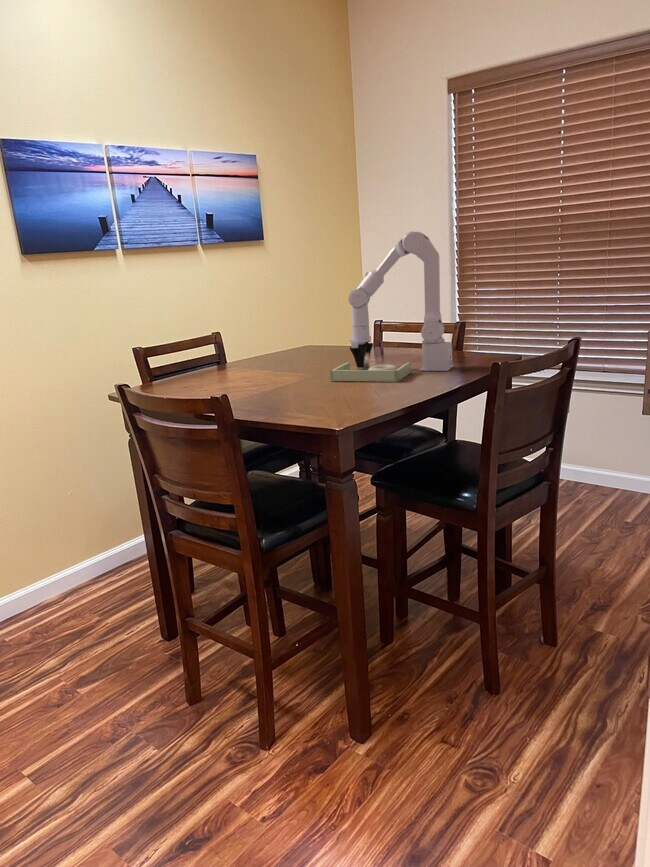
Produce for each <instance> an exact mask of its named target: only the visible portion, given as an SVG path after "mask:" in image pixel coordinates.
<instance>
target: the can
mask: <svg viewBox="0 0 650 867" xmlns="http://www.w3.org/2000/svg"><path fill="white" fill-rule="evenodd" d="M355 367H356V368H355V370H368V369H369V368H370V357H369V353H368V352H365V358H364V367H363V368H357V365H356V364H355Z"/></svg>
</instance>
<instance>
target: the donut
mask: <svg viewBox="0 0 650 867" xmlns="http://www.w3.org/2000/svg"><path fill="white" fill-rule="evenodd" d="M398 368H399V367H398V366H397V365H395V364H375V365H373V366H369V369H368V370H396V369H398Z"/></svg>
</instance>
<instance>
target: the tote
mask: <svg viewBox="0 0 650 867" xmlns="http://www.w3.org/2000/svg"><path fill="white" fill-rule="evenodd" d="M411 364H412V362H411V361H407V362H406V363H404V364H402V365H401V366H400V367H398V369H396V370H357V369H351V364H350V361H349V362H348V361H347V362H344V363H342V364H340V365H338V366H337V367H335V368H333V369H331V370H329V371H330V372H329V374H330V382H331V381H359V382H358V383H366V382H365V381H379V382H378V383H399V382H401V381H402V380H403V379H405V378H406V377H407V376H409V375H410V374H411V373H412V365H411ZM408 374H409V375H408ZM404 377H405V378H404ZM400 380H401V381H400ZM360 381H362V382H360ZM363 381H364V382H363Z"/></svg>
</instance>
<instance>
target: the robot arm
mask: <svg viewBox="0 0 650 867" xmlns="http://www.w3.org/2000/svg"><path fill="white" fill-rule="evenodd" d="M410 254H412V255H414V256H416V257H417V258H418V259H419V260H421V261H422V262H423V272H424V274H423V276H424V279H423V281H424V287H423V288H424V317H423V326H422V328H421V330H420V335H421V337H422V341H421V345H422V346H421V348H422V349H421V350H422V351H421V352H422V353H421V354H422V366H421V367H420V368H419V369H418V370H419V372H420V371H422V372H423V371H424V372H426V371H429V372H430V371H433V372H434V371H435V372H436V371H438V372H440V371H441V372H444V371H446V372H448V371H449V370H450V369H452V368H453V367H454V365H453V345H452V344H453V343H452V342H451V341H445V339H444V337H443V335H444V333H445V325H444V324H443V321H442V314H441V290H440V289H441V286H440V285H441V281H440V280H441V278H440V276H441V275H440V274H441V272H440V271H441V270H440V253H439V252H438V250H437V249H436V247H435V246H434V244H433V242H431V240H430V237H428V236H427V235H426V234H424V233H422V232H421V231H409V232H407V233H406V234H405V235H404V236H403V237H402V238H401V239H400V240H398V241H397V243H395V245H394V246H393V247H392V248H391V250H390V251H389V253H388V254H387V255H386V256H385V257H384V259H383V260H382V261H381V262H380V264H379V265H378V266H377V268H376V269H370V270H369V271H367V272H365V273H364V278H363V279H362V280H361V281H360V283H358V284H356V286H355V288H356V289H353V290H351V291H350V293H349V295H348V302H349V305H350V309H351V313H350V314H351V317H350V318H351V328H352V330H351V331H352V332H351V333H352V338H350V339H349V342H351V343H350V344H351V346H349V351H350V352H351V354H352V356H353V358H354V361H355V366H356V365H357V368H363V367H364V358H365V352H368V353H369V358H370V356H371V353H372V349H373V346H374V343H373V342H372V336H371V335H370V334H371V333H370V318H369V305H368V304H369V302H370V299H371V297H373V295H374V294H375V293H376V292H377V291H378V290H379V289H380V287H381V286H382V285H383V284H384V283H385V280H384V278H385V275H386V274H387V273H388V272H389V271H390V270H391V268H392V267H393V266H394V265H395V264H396V263H397V262H398V261H399V259H400V258H403V257H404V256H405V257H406V256H407V255H410Z"/></svg>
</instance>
